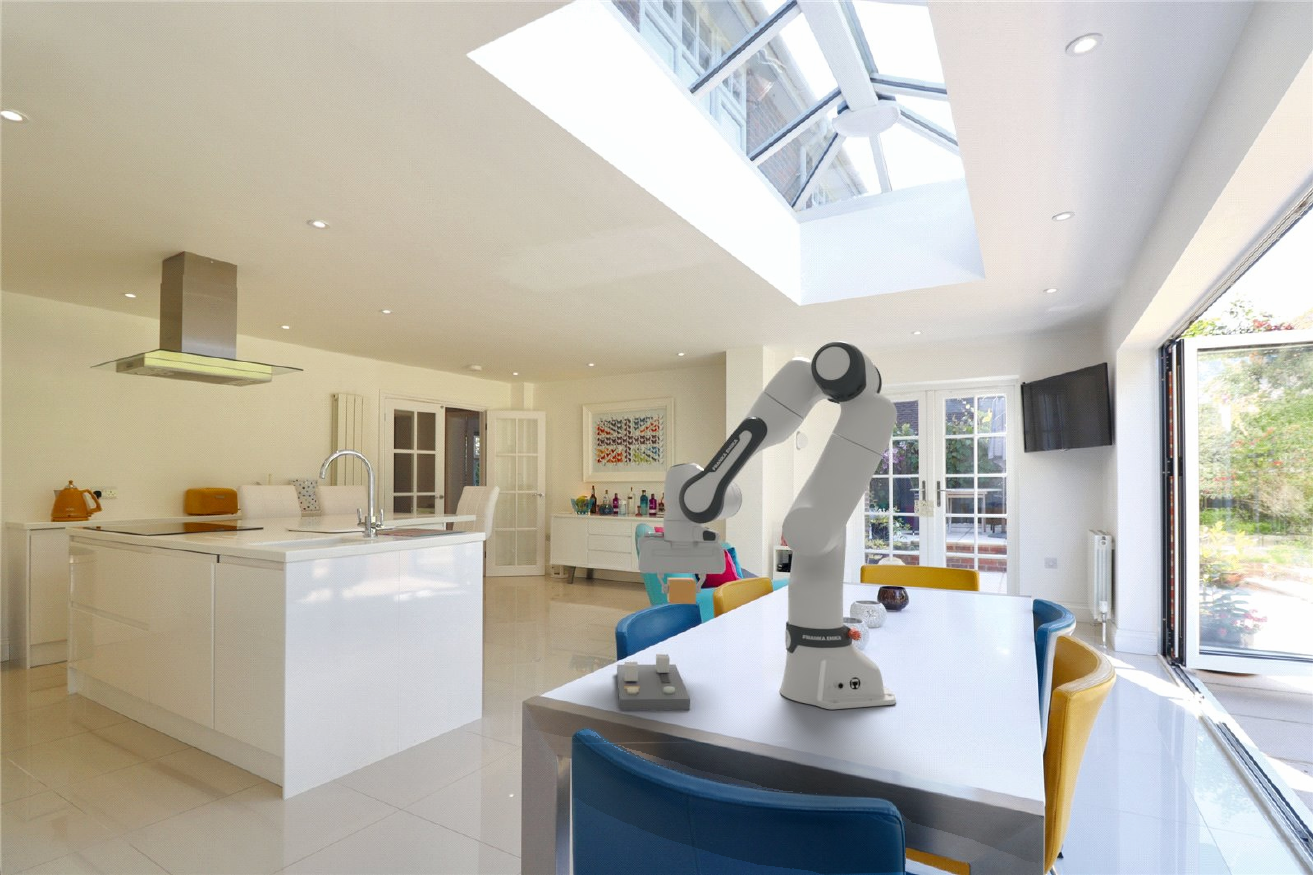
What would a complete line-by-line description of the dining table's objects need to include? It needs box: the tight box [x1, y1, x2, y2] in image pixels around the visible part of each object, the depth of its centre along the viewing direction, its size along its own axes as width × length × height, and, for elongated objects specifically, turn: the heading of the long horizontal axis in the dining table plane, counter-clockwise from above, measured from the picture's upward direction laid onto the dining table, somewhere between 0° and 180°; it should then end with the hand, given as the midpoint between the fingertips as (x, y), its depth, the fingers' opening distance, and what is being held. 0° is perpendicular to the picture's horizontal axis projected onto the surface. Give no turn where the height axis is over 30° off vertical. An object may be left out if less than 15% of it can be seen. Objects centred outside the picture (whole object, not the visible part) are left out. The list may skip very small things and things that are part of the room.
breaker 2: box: [655, 653, 670, 673], centre depth 139 cm, size 3×3×3 cm
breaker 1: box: [624, 661, 639, 681], centre depth 133 cm, size 3×3×3 cm
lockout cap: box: [666, 577, 697, 605], centre depth 151 cm, size 6×6×5 cm
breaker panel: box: [616, 663, 691, 711], centre depth 133 cm, size 13×24×3 cm, turn 5°
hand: (681, 593), depth 151 cm, fingers closed on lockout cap, 6 cm apart
